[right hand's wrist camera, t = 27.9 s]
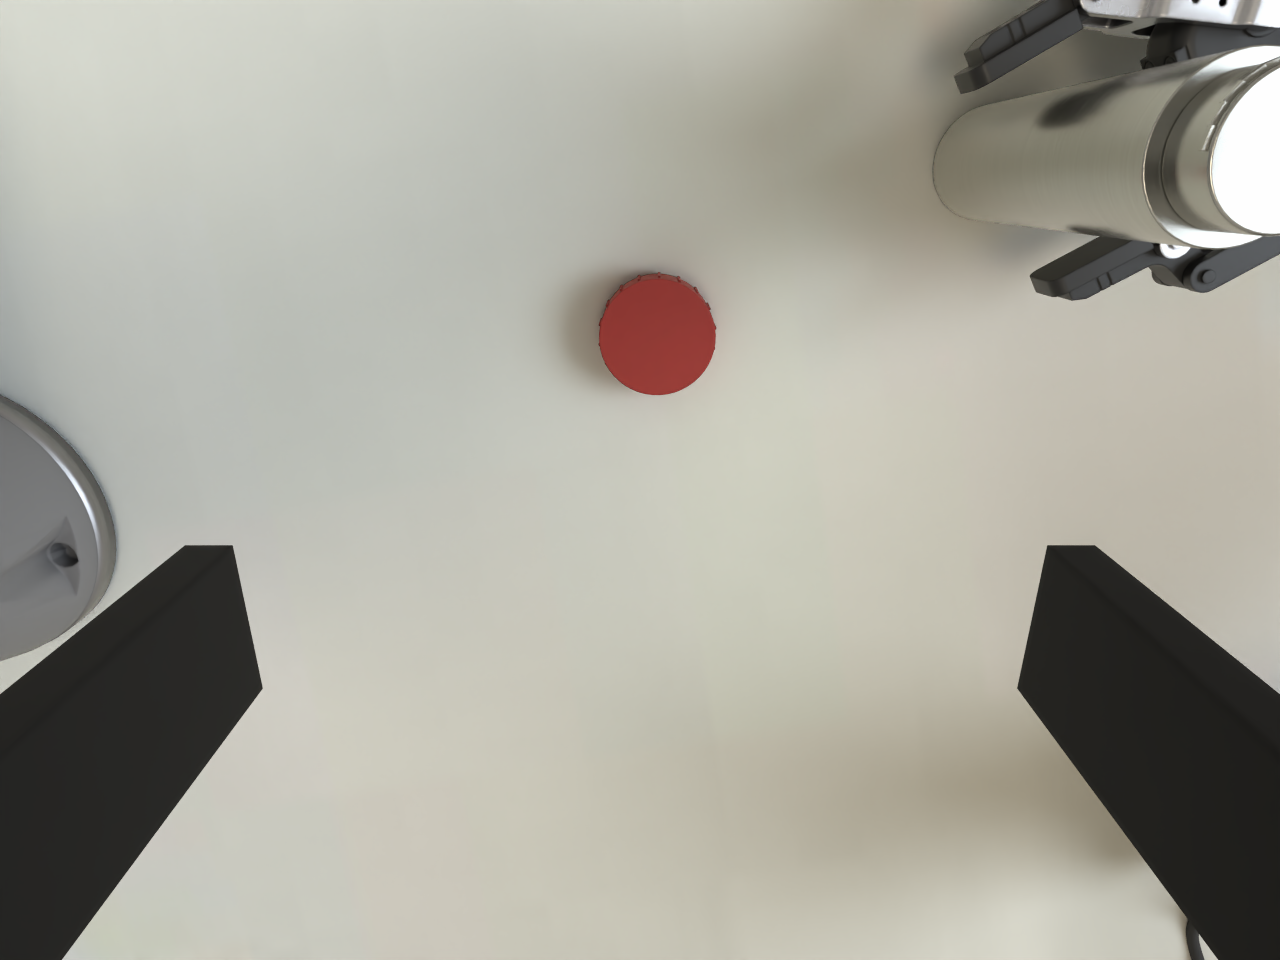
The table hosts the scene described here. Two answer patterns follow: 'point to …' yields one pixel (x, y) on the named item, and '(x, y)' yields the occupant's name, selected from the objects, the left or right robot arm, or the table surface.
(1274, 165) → the jar
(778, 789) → the table surface
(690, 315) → the lid
